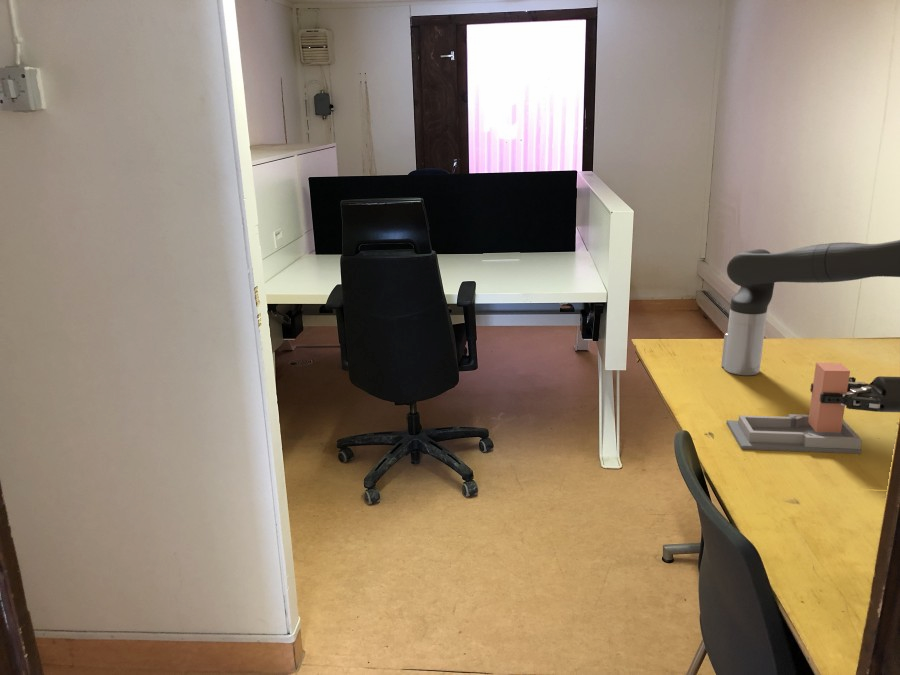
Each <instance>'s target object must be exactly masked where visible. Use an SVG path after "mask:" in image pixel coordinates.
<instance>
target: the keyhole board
mask: <svg viewBox="0 0 900 675" xmlns="http://www.w3.org/2000/svg"><path fill="white" fill-rule="evenodd" d="M808 419H809V414H798V413H797V414H796V413H794V414H790V413H788V414H787V416H777V415H776V416H775V415H774V416H771V415H770V416H769V415H746V414H745V415H738V419H737V420H735V419H734V420H733V419H732V420H731V419H727V420H726V425H727V427H728V429H729V431H730V432H731V434H732V436H733V437H734V440H735V441H736V443H737V445H739V448H740V450H757V451H762V450H763V451H783V452H785V451H786V452H787V451H788V452H808V453H809V452H811V453H812V452H813V453H815V452H816V453H839V454H861V452H862V449H861V447H862V438H861V437H860V436H859V435H858V433H856V432H855V430H854V429H853V428H852V427H851V426H850V425H849V424H848V423H847V422H846V421H845V420H844V419H843V422H842V428H841V433H830V432H816V431H815V430H814V429H813V428H812V427H811V425H810V424H809V423H808Z"/></svg>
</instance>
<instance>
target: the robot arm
mask: <svg viewBox="0 0 900 675" xmlns="http://www.w3.org/2000/svg"><path fill="white" fill-rule="evenodd" d="M726 274H727V277H728V278H729V280H730V281H731V282H733V284H734V285H737V286H739V287H740V288H739V290H738V292H737V293H736V294H734V296H732V298H731V300H730V306H729V315H728V325H727V332H726V333H724V336H723V343H722V344H723V346H722V356H721V363H720V364H721V365H720V366H721V367H722V368H723V369H724V370H725V371H726V372H728V373H730V374H733V375H738V376H754V375H759V373H760V369H761V364H762V355H763V349H764V348H763V347H764V339H765V330H766V324H767V323H766V322H767V313H768V307H769V304H770V303H771V301H772V298H773V295H774V294H773V292H774V289H775V288H774V287H775V283H807V284H808V283H809V284H811V283H815V284H816V283H817V284H818V283H822V284H823V283H838V282H848V281H854V280H855V281H857V280H861V279H868V278H874V277H875V278H876V277H883V278H884V277H885V278H886V277H887V278H888V277H889V278H900V239H898V240H893V241H888V242H887V241H886V242H879V243H861V242H830V243H819V244H813V245H808V246H802V247H797V248H793V249H789V250H784V251H781V252H770V251H769V250H767V249H762V248H758V249H756V248H755V249H751V250H747V251H742V252H739V253H737V254H735V255H734V256H733V257H732V258H731V259H730V261H729V262H728V264H727V268H726ZM809 390H810V393H812V390H813V382H812V383H810V389H809ZM820 402H821V403H833V404H839V403H840V405H843V406H845V408H846V409H848V410H857V411H865V412H878V413H879V412H880V413H900V376H881V375H879V376H877V377H875V378H873V380H872V381H871V382H870V383H867V382H864V381H857V378H856V377H852V376H849V382H848V388H847V392H844V393H841V395H840V393H826V392H823V393H821V394H820Z"/></svg>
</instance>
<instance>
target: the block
mask: <svg viewBox="0 0 900 675" xmlns="http://www.w3.org/2000/svg"><path fill="white" fill-rule="evenodd" d="M850 374H851V371H850V369H849V368H847V367H846V366H845V365H843V364H842V362H815V368H814V376H813V382H812V383H813V390H812V392H811V396H810V405H809V411H808V412H809V413H808V415H809V419H808V423H809V424H810V425H811V427H812V428H813V429H814V430H815V431H816V432H830V433H841V428H842V422H843V420H844V414H845V408H846V405H845V406H843V405H840V403H839V404H833V403H821V402H820V394H821V393H823V392H826V393H840V395H841V393H844V392H847V388H848V382H849V377H850V376H851V375H850Z"/></svg>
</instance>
